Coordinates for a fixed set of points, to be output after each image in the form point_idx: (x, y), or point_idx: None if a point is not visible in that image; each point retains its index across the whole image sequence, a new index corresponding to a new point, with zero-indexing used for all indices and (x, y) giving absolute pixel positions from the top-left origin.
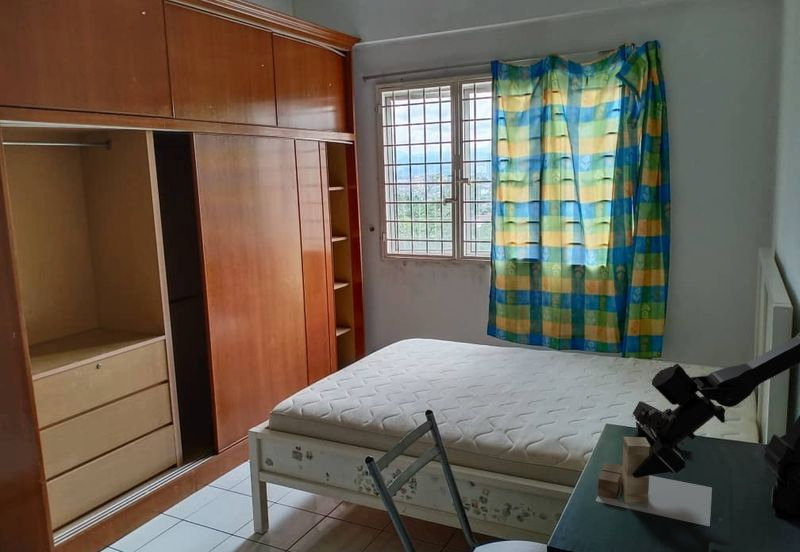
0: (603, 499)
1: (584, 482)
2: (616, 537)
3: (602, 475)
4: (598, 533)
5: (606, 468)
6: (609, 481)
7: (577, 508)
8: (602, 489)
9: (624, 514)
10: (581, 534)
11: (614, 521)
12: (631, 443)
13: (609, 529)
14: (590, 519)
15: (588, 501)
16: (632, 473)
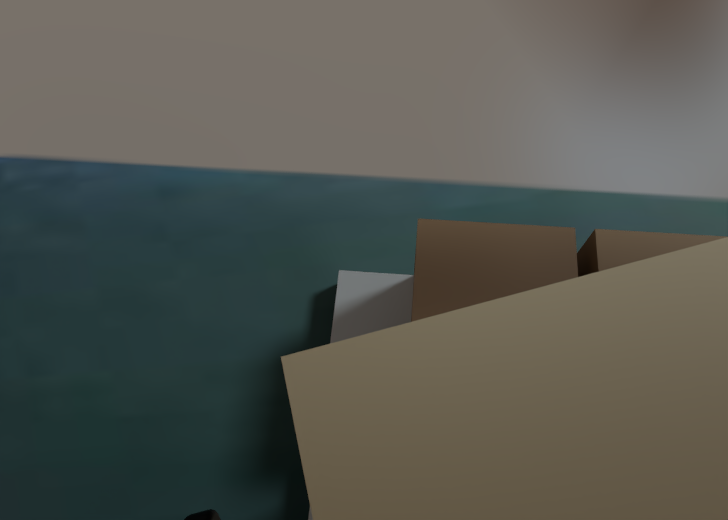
0: (377, 313)
1: (600, 194)
2: (11, 428)
3: (485, 241)
4: (41, 327)
5: (639, 259)
6: (412, 304)
7: (276, 198)
8: (413, 284)
9: (288, 462)
10: (22, 248)
11: (186, 404)
12: (505, 450)
13: (91, 382)
14: (177, 273)
15: (374, 241)
16: (197, 514)
